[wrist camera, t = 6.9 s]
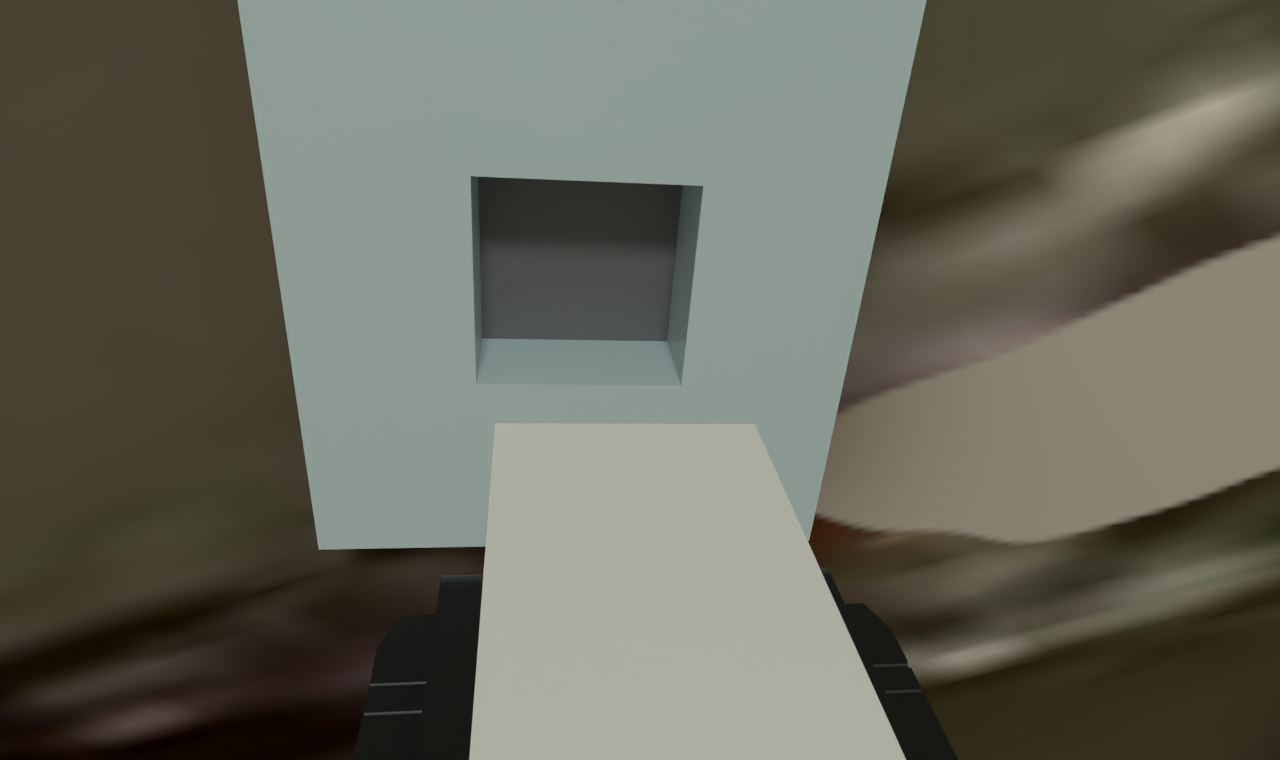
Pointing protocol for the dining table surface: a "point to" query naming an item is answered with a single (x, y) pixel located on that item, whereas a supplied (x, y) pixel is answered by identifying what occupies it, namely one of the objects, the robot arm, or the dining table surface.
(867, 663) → the robot arm
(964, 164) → the dining table surface
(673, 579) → the cream block with knob
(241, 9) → the outlet block
